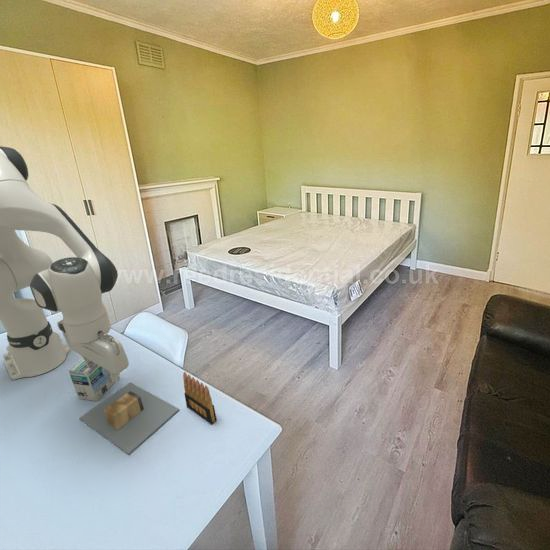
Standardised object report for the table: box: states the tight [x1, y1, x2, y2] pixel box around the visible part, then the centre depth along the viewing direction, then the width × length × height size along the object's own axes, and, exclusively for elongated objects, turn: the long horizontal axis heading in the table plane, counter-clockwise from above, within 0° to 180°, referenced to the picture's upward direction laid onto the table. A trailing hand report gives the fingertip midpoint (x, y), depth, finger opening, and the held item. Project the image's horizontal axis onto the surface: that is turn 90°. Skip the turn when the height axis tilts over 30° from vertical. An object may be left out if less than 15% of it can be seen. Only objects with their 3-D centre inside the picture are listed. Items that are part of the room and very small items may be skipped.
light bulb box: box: [67, 358, 116, 402], centre depth 99 cm, size 11×7×11 cm, turn 168°
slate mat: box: [79, 381, 180, 456], centre depth 90 cm, size 22×16×1 cm
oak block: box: [104, 391, 144, 429], centre depth 88 cm, size 4×4×8 cm
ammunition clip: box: [182, 371, 217, 425], centre depth 87 cm, size 11×2×12 cm, turn 51°
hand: (103, 373), depth 82 cm, fingers open, 8 cm apart
